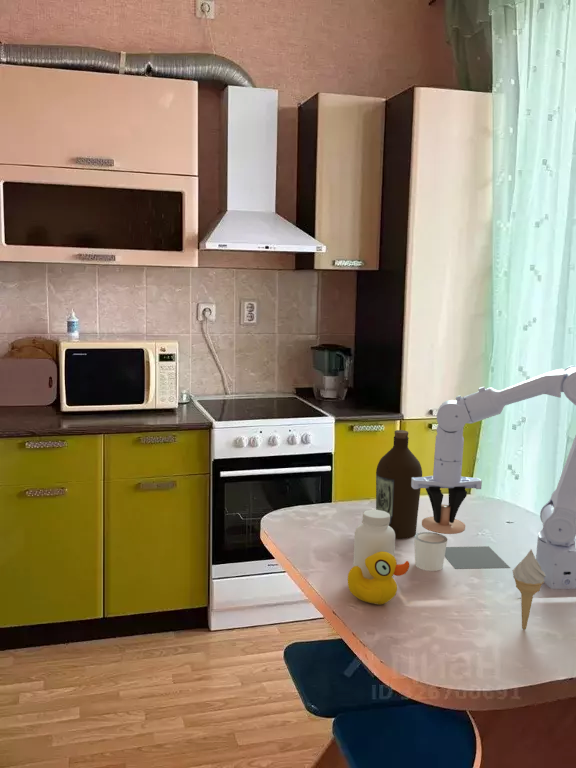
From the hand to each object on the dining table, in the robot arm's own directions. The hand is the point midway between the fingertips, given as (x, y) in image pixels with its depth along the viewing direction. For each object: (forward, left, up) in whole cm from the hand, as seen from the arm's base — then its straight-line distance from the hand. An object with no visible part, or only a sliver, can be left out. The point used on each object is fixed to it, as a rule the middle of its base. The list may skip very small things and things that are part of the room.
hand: (443, 521), depth 158 cm
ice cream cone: (-28, -6, -10) cm, 31 cm away
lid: (0, 0, -1) cm, 1 cm away
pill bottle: (-9, +17, -10) cm, 22 cm away
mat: (+3, -8, -10) cm, 13 cm away
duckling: (-16, +18, -10) cm, 26 cm away
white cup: (-1, +3, -10) cm, 11 cm away
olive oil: (+19, +5, -10) cm, 22 cm away
